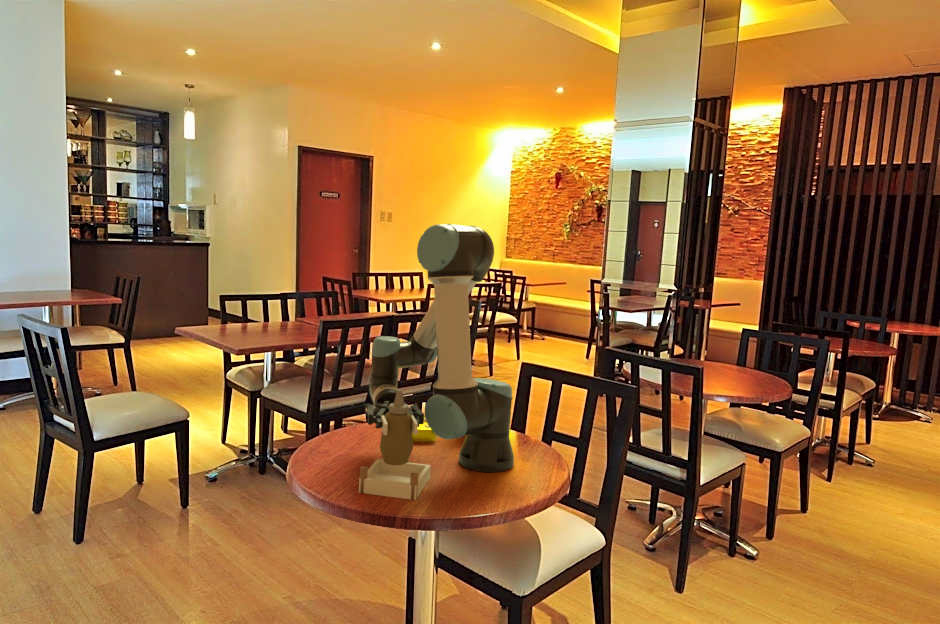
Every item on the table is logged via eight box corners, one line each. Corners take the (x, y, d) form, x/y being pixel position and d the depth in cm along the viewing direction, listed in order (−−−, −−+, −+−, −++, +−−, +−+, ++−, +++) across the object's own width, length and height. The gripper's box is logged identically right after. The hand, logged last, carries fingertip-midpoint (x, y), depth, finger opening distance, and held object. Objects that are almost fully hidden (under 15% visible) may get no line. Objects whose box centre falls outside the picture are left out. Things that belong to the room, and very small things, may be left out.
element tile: (387, 426, 206) (388, 412, 205) (434, 428, 207) (435, 413, 207) (386, 442, 191) (386, 426, 190) (436, 443, 193) (437, 428, 192)
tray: (430, 478, 164) (431, 455, 164) (416, 500, 151) (417, 475, 150) (377, 471, 167) (378, 449, 166) (358, 492, 153) (359, 468, 152)
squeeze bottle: (389, 470, 153) (393, 396, 150) (373, 458, 159) (376, 388, 157) (418, 464, 157) (422, 393, 155) (401, 453, 164) (405, 385, 161)
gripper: (422, 414, 177) (440, 443, 155) (351, 415, 172) (358, 445, 150) (424, 388, 176) (442, 413, 154) (352, 388, 171) (360, 414, 149)
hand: (401, 429), depth 152 cm, fingers closed on squeeze bottle, 6 cm apart
